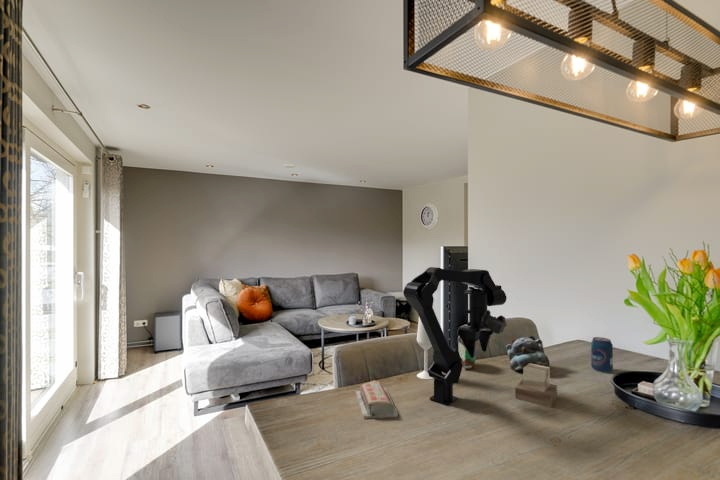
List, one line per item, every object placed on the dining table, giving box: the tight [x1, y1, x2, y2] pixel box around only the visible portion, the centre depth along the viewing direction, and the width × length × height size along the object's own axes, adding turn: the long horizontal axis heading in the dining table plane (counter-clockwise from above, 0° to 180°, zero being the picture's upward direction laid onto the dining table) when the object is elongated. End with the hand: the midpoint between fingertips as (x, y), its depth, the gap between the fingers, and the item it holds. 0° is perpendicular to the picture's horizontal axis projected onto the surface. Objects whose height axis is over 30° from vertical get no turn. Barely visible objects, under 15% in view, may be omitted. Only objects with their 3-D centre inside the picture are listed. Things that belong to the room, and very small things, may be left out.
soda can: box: [590, 336, 614, 374], centre depth 140 cm, size 7×7×12 cm
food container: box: [457, 336, 478, 371], centre depth 144 cm, size 12×6×10 cm, turn 179°
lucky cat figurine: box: [505, 335, 550, 372], centre depth 142 cm, size 15×12×14 cm
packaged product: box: [355, 380, 399, 420], centre depth 110 cm, size 18×5×10 cm
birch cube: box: [522, 363, 551, 392], centre depth 114 cm, size 6×6×6 cm
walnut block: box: [514, 379, 558, 408], centre depth 115 cm, size 10×10×4 cm
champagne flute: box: [416, 316, 434, 380], centre depth 134 cm, size 7×7×24 cm
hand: (478, 354), depth 120 cm, fingers open, 9 cm apart
